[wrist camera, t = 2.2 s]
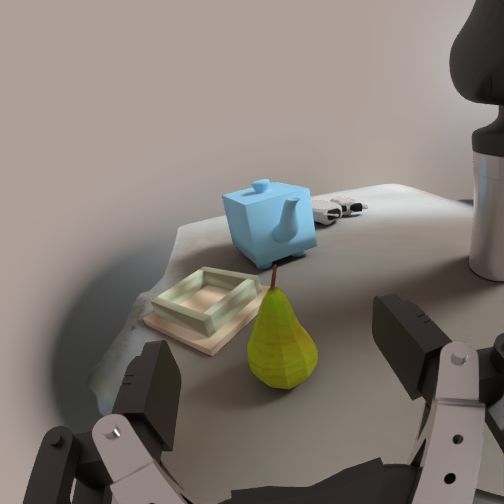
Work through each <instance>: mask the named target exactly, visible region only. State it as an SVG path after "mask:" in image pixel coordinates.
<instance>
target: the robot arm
mask: <svg viewBox="0 0 504 504" xmlns="http://www.w3.org/2000/svg"><path fill="white" fill-rule="evenodd" d="M449 64H450V74H451V78H452V81H453V84H454V86H455V88H456V89H457V91H458V92H459V93H460V95H461V96H463V97H464V98H465V99H467V100H469V101H472V102H475V103H483V104H493V105H499V114H498V117H497V119H496V120H495V121H494V122H493V123H491V124H489V125H488V126H486V127H483V128H480V129H477V130H475V131H474V132H473V134H472V148H473V164H474V208H473V226H472V238H471V247H470V256H469V266H470V268H471V269H472V270H473V271H474V272H475V273H476V274H478V275H479V276H481V277H484V278H486V279H489V280H494V281H504V0H476V2H475V4H474V7H473V9H472V12H471V14H470V16H469V18H468V19H467V21H466V23H465V24H464V26H463V28H462V29H461V31H460V33H459V34H458V35H457V37H456V39H455V41H454V43H453V45H452V48H451V53H450V63H449ZM372 333H373V338H374V341H375V343H376V345H377V346H378V348H379V349H380V351H381V352H382V354H383V355H384V357H385V358H386V360H387V361H388V363H389V364H390V366H391V368H392V369H393V371H394V372H395V374H396V375H397V377H398V378H399V380H400V382H401V383H402V385H403V386H404V388H405V390H406V391H407V393H408V394H409V396H410V398H411V399H412V400H415V399H417V398H419V397H421V396H423V398H424V399H425V403H424V406H423V410H422V415H421V419H420V424H419V428H418V432H417V436H416V439H415V443H414V446H413V449H412V452H411V454H410V457H409V459H408V462H407V464H384V465H383V463H382V461H381V458H380V457H379V458H376V459H374V460H371V461H368V462H365V463H362V464H359V465H356V466H353V467H350V468H347V469H344V470H342V471H341V472H339V473H337V474H335V475H333V476H331V477H329V478H327V479H325V480H323V481H321V482H319V483H317V484H315V485H312V486H309V487H276V486H266V487H258V488H250V489H241V490H231V496H232V498H231V499H228V500H225V501H223V502H220V503H218V504H504V496H500V495H496V494H493V493H489V492H486V491H483V490H479V489H476V485H477V480H478V474H479V468H480V462H481V455H482V446H483V437H484V424H485V422H486V424H487V425H488V427H489V429H490V430H491V432H492V434H493V436H494V437H495V439H496V441H497V442H498V444H499V446H500V448H501V449H502V451H503V453H504V333H502V334H500V335H499V336H498V337H497V338H496V340H495V343H494V345H493V347H489V348H484V349H479V350H475V348H474V347H472V346H471V345H469V344H467V343H465V342H452V341H451V340H450V339H449V337H448V336H447V335H446V334H445V333H444V332H443V331H442V330H441V329H440V328H439V327H438V326H437V325H436V324H435V323H434V322H433V321H431V319H430V318H429V317H428V316H427V315H425V313H424V312H423V311H422V310H421V309H420V308H419V307H418V306H417V305H415V304H413V303H411V302H409V301H404V302H403V301H402V300H401V299H400V298H399V297H398V296H397V295H396V294H395V293H394V292H390V293H387V294H384V295H380V296H377V297H375V298H374V301H373V322H372ZM124 376H125V377H124V378H123V381H122V386H120V389H119V392H118V395H117V398H116V401H115V404H114V407H113V410H112V413H111V415H107V416H105V417H103V418H102V419H100V420H99V421H98V422H97V423H96V424H95V426H94V428H93V431H90V432H86V433H81V434H76V435H74V434H73V433H72V432H71V431H70V430H69V429H68V428H67V427H64V426H58V427H54V428H52V429H51V430H49V431H48V432H47V433H46V434H45V436H44V438H43V440H42V443H41V446H40V449H39V451H38V454H37V457H36V460H35V463H34V467H33V469H32V473H31V476H30V479H29V483H28V486H27V490H26V494H25V497H24V501H23V504H71V502H70V493H71V488H72V484H73V480H74V478H76V479H77V481H76V486H75V490H74V496H73V501H72V504H111V502H112V494H113V495H114V496H115V498H116V500H117V502H118V504H198V503H197V502H196V501H195V500H194V499H193V498H192V497H191V496H190V495H189V493H188V492H187V491H186V490H185V489H184V488H183V486H182V485H181V484H180V483H179V482H178V480H177V479H176V478H175V477H174V475H173V474H172V473H171V472H170V470H169V469H168V468H167V467H166V465H165V464H164V463H163V461H162V460H161V453H162V451H173V442H174V434H175V426H176V418H177V410H178V403H179V396H180V389H181V374H180V371H179V368H178V366H177V364H176V361H175V359H174V357H173V355H172V353H171V350H170V348H169V346H168V344H167V342H166V341H165V340H161V341H153V342H146V343H145V345H144V347H143V350H142V353H141V356H136V357H135V358H134V359H133V360H132V361H131V363H130V364H129V365H128V367H127V370H126V372H125V375H124Z"/></svg>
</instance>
